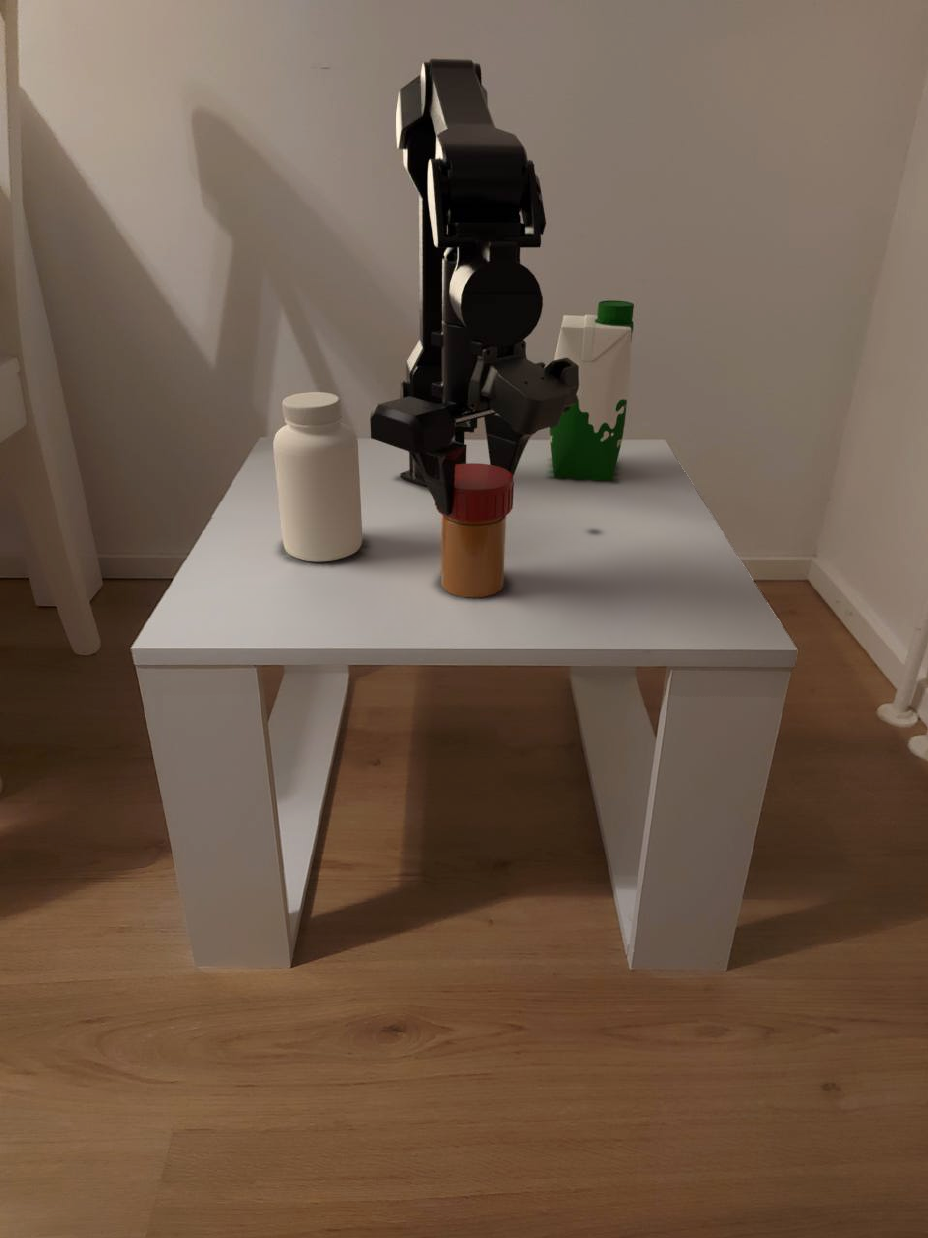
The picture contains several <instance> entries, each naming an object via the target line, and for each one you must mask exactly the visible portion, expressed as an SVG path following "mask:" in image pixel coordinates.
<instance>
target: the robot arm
mask: <svg viewBox="0 0 928 1238" xmlns="http://www.w3.org/2000/svg"><path fill="white" fill-rule="evenodd" d="M482 79H483V77H482V68H481V64H480V63H478V62H477V63H476V62H474V61H473V60H472V59H464V58H463V59H460V58H459V59H458V58H456V59H455V58H430V59H429V61H423V62H422V64H421V69H420V74H419V75H417V77H415V78H414V79H412V80H411V81H409V82H408V83H407V84H405V85H404V86H403V87H401V88H400V89H399V91H398V96H397V97H398V98H397V105H396V114H395V116H396V117H395V133H396V135H395V136H396V147H397V150H402V155H403V156H402V157H403V158H402V160H403V166H404V169H405V171H406V172H407V175H408V177H409V179H410V180H411V182H412V184H413V186H414V188H415V190H416V192H417V194H418V237H419V239H418V241H419V243H418V244H419V245H418V246H419V247H418V248H419V249H418V251H419V259H418V260H419V263H418V264H419V265H418V266H419V267H418V268H419V269H418V271H419V274H418V275H419V276H418V277H419V279H418V280H419V340H418V341H417V343H416V345H415V347H414V348H413V350H412V352H411V353H410V355H409V357H408V358H407V359H406V363H405V380H401V381H400V389H399V398H398V399H397V398H396V399H393V400H389V401H384V402H380V403H377V405H375V407H374V409H373V410H372V411H371V412H370V417H369V419H370V420H369V421H370V422H369V423H370V438H371V439H372V440H374V441H378V442H381V443H384V444H386V445H388V446H392V447H395V448H397V449H400V450H403V451H406V452H408V462H409V463H408V464H409V465H408V466H409V468H408V470H405V471H403V472H400V473H399V478H400V479H403V480H405V481H409V482H412V483H414V484H417V485H420V486H423V487H426V488H428V491H429V492H430V495H431V497H432V499H433V501H434V504H435V503H436V505H437V507H438V509H439V511H440V512H441V513H442V514H445V515H450V514H451V513H452V507H453V500H454V480H455V465H457V464H467V447H468V446H467V444H465V433H473V434H474V433H475V429H478V420H479V419H481V418H483V419H484V427H485V434H486V435H485V436H486V443H487V451H488V457H489V465H494V466H498V467H501V468H504V469H506V470H508V471H509V472H511V473H512V475H513V477H514V476H515V474H516V471H517V468H518V466H519V463H520V460H521V458H522V456H523V453H524V451H525V448H526V446H527V444H528V442H529V440H530V438H531V437H532V436H534V434H536V433H537V432H538V431H541V430H544V429H548V428H549V429H550V428H554V427H557V426H558V424H559V421H560V418H561V416H562V413H563V412H566V411H570V406H571V405H574V404H576V403H577V401H578V397H577V395H576V394H577V391H578V388H579V366H578V365H577V364H576V363H574V362H573V361H572V360H570V359H569V358H562V359H558V360H551V361H550V362H549V363H548V364H547V365H546V363H545V362H543V361H541V362H540V361H539V362H536V363H535V362H533V361H531V360H530V359H528V357H527V351H526V350H527V342H526V340H525V339H526V338H528V337H529V336H530V335H531V334H532V333H533V331H534V330H535V329H536V327H537V326H538V323H539V322H540V319H541V318H542V317H541V316H542V313H543V307H544V296H543V293H542V289H541V285H540V283H539V281H538V280H537V278H536V275H534V273H533V272H531V271H532V270H530V269H529V268H528V267H526V266H525V265H523V264H522V263H521V249H523V248H524V249H525V248H528V249H529V248H535V249H536V248H537V249H538V248H541V246H542V236H544V233H545V229H546V225H547V220H546V213H545V212H546V211H545V206H544V200H543V195H542V188H541V182H540V178H539V176H538V175H537V174H536V170H535V164H534V161H533V160H532V159H528V153H527V150H526V148H525V146H524V145H523V144H522V142H521V141H520V139H519V138H518V137H517V135H516V134H515V133H512V132H509V131H505V130H503V129H500V128H497V127H496V125H495V122H494V120H493V117H492V114H491V111H490V109H489V99H488V91H487V89H486V88H485V87H484V86H483V84H482V83H483V81H482ZM521 221H522V222H521ZM436 505H435V506H436ZM441 513H440V514H441Z"/></svg>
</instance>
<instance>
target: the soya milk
mask: <svg viewBox="0 0 928 1238" xmlns="http://www.w3.org/2000/svg"><path fill="white" fill-rule="evenodd" d="M634 308H635V304H634V303H633V302H630V301H627V300H626V301H625V300H613V299H612V300H601V301H599V302H598V306H597V315H595V314H585V315H572V314H571V315H570V314H564V315H563V317H562V322H561V326H560V331H559V335H558V339H557V345H556V350H555V353H554V358H553V359H554V360H558V359H562V358H569V359H570V360H572V361H573V362H574V363H576V364H577V365H578V366H579V388H578V391H577V394H576V395H577V397H578V401H577V403H576V404H574V405H571V406H570V411H566V412H563V413H562V416H561V418H560V421H559V424H558V426H557V427H554V428H550V427H549V443H550V453H551V463H552V472H553V478H555V479H570V480H571V479H572V480H585V481H601V482H613V479H614V476H615V471H616V467H617V463H618V460H619V456H620V451H621V447H622V442H623V438H624V437H623V436H624V430H625V425H626V415H627V408H628V396H629V388H630V378H631V364H632V342H633V332H634V321H633V318H634ZM554 360H553V361H554Z"/></svg>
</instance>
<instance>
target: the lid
mask: <svg viewBox="0 0 928 1238" xmlns="http://www.w3.org/2000/svg"><path fill="white" fill-rule="evenodd" d="M514 489H515V482H514V476H513V475H512V473H511V472H509V471H508V470H506V469H504V468H501V467H498V466H494V465H490V464H487V463H474V462H471V463H469V462H468V463H467V462H466V464H457V465H455V480H454V500H453V507H452V513H451V514H450V515H445V514H442V513H441V512H440V511H439V509H438V507H437V505H436V503H435V502H434V506H435V508H436V509H435V510H436V511H437V512H438V513H439V514H440V515H441V514H442V515H444V516H446V517H449V518H452V519H456V520H461V521H471V522H481V521H490V520H496V519H499V518H502V517H504V516H506V517H507V516H508V515H510V513H511V512H512V510H513V509H514Z"/></svg>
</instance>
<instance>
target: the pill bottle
mask: <svg viewBox="0 0 928 1238" xmlns="http://www.w3.org/2000/svg"><path fill="white" fill-rule="evenodd" d="M281 404H282V414H283V417H284V422H285V423H286V425H285V424H284V426H282V427H281V428H280V429H279V430H278V431H277V432H276V433H275V435H274V438H273V443H272V447H273V458H274V467H275V478H276V489H277V497H278V508H279V517H280V528H281V538H282V543H283V548H284V549H285V551H286V553H287V554H288V555H289V556H291V557H294V558H295V559H297V560H302V561H307V562H331V561H337V560H340V559H341V560H342V559H345V558H347V557H349V556H352V555H353V554H355V553H356V552H357V551H359V549H360V548H361V546H362V543H363V519H362V500H361V497H362V496H361V479H360V478H361V477H360V461H359V460H360V459H359V458H360V457H359V442H358V438H357V435H356V432H355V431H354V430H353V429H352V428H351V427H350V426H348V425H347V424H345V423H344V422H342V421H343V415H342V406H341V405H342V403H341V399H340V397H339V396H338V395H336V394H333V393H329V392H323V391H309V392H300V393H295V394H291V395H288V396H287V397H285V398H284V399H283V400H282V403H281Z"/></svg>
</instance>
